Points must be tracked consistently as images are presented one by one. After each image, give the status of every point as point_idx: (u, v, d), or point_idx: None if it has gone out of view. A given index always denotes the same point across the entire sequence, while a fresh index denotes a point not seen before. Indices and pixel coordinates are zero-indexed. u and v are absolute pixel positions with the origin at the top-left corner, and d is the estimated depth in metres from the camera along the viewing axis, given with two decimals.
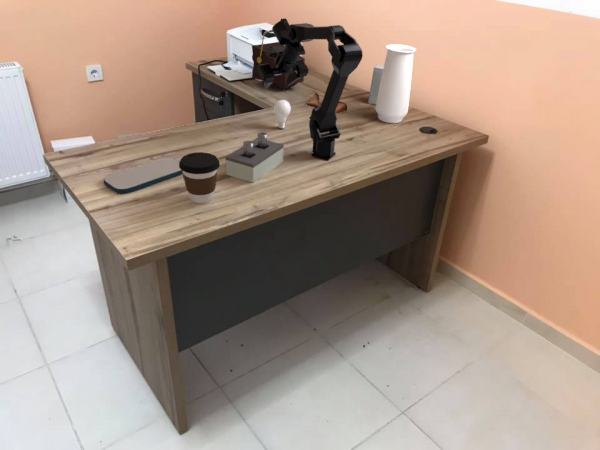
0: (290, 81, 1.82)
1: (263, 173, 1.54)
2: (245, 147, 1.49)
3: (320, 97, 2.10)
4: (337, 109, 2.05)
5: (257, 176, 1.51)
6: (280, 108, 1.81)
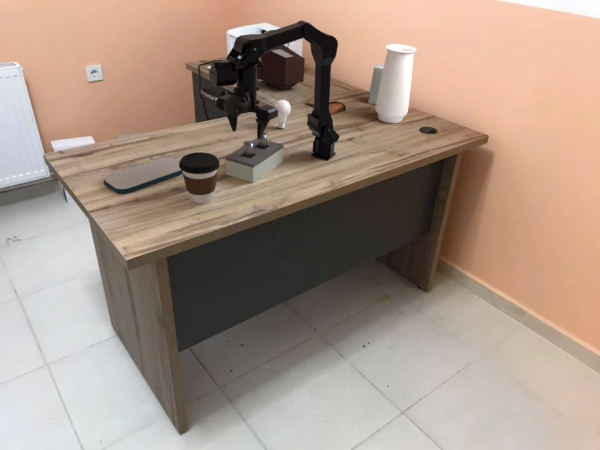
0: (236, 120, 1.50)
1: (263, 173, 1.54)
2: (245, 147, 1.49)
3: None
4: (335, 109, 2.04)
5: (257, 176, 1.51)
6: (280, 108, 1.81)
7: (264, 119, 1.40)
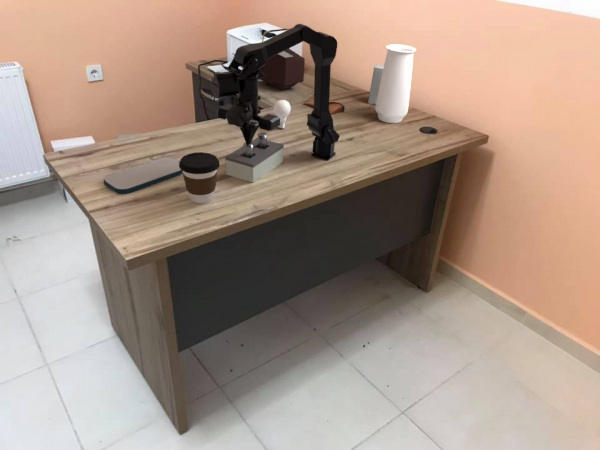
0: None
1: (263, 173, 1.54)
2: (245, 148, 1.50)
3: None
4: (334, 110, 2.04)
5: (257, 176, 1.51)
6: (280, 108, 1.81)
7: (267, 129, 1.40)
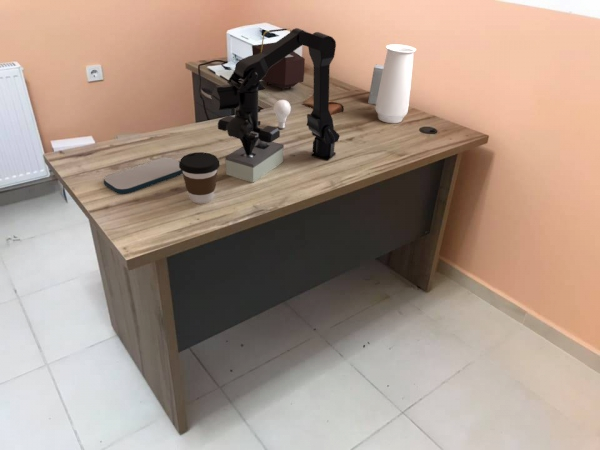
0: None
1: (263, 173, 1.54)
2: None
3: None
4: (333, 110, 2.03)
5: (257, 176, 1.51)
6: (280, 108, 1.81)
7: (267, 140, 1.42)
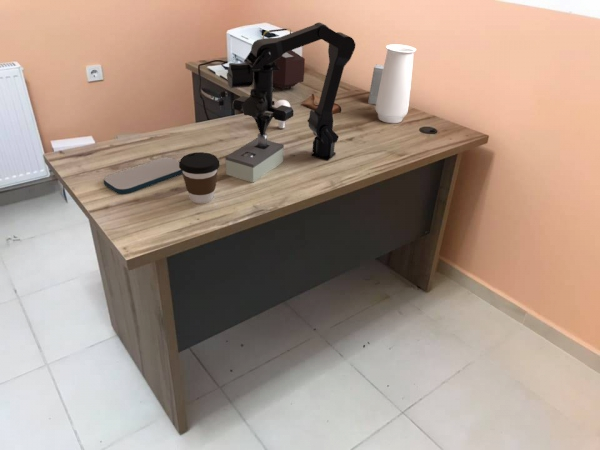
0: None
1: (263, 173, 1.54)
2: None
3: (315, 98, 2.09)
4: None
5: (257, 176, 1.51)
6: None
7: (281, 119, 1.46)
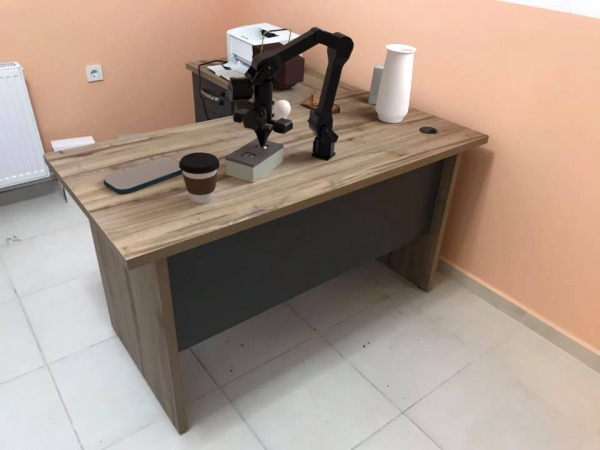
0: None
1: (263, 173, 1.54)
2: None
3: (314, 98, 2.09)
4: None
5: (257, 176, 1.51)
6: (280, 108, 1.80)
7: (281, 132, 1.48)
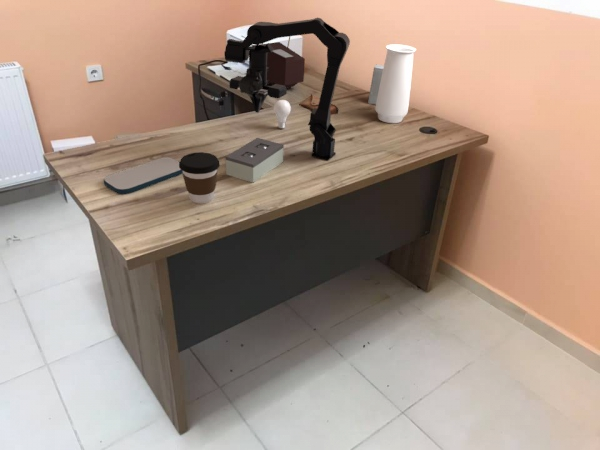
0: None
1: (263, 173, 1.54)
2: None
3: (313, 98, 2.08)
4: None
5: (257, 176, 1.51)
6: (280, 108, 1.80)
7: (275, 96, 1.57)
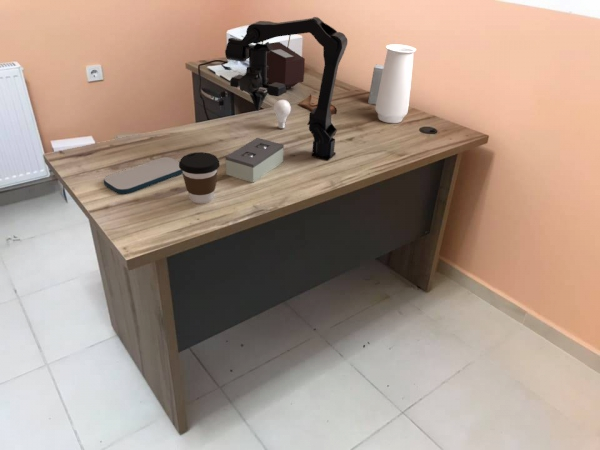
0: None
1: (263, 173, 1.54)
2: None
3: (312, 98, 2.08)
4: None
5: (257, 176, 1.51)
6: (280, 108, 1.81)
7: (274, 94, 1.59)
